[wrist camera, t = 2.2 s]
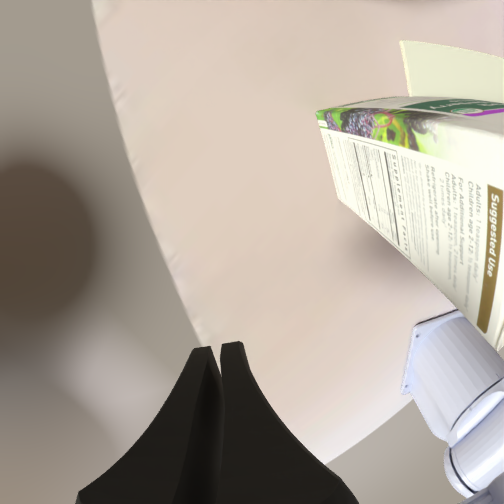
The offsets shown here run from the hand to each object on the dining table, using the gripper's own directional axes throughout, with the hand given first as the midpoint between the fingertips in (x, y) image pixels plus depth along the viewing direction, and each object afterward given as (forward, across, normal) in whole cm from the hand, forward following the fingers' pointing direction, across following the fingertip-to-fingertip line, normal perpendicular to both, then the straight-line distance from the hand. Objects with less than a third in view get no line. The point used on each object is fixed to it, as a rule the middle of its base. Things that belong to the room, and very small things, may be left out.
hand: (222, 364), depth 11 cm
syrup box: (+10, -10, -5) cm, 15 cm away
